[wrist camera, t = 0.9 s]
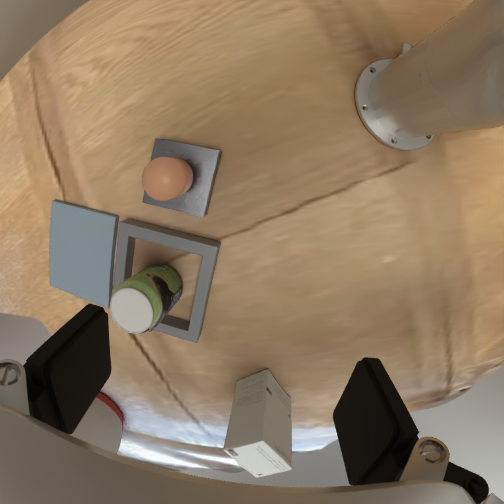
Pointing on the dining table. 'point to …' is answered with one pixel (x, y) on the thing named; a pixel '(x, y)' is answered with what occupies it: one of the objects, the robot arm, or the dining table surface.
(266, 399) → the skincare box
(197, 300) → the frame
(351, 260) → the dining table surface
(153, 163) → the button
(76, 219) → the mat
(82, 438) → the citrus juicer
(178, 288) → the beverage can
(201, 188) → the button base
